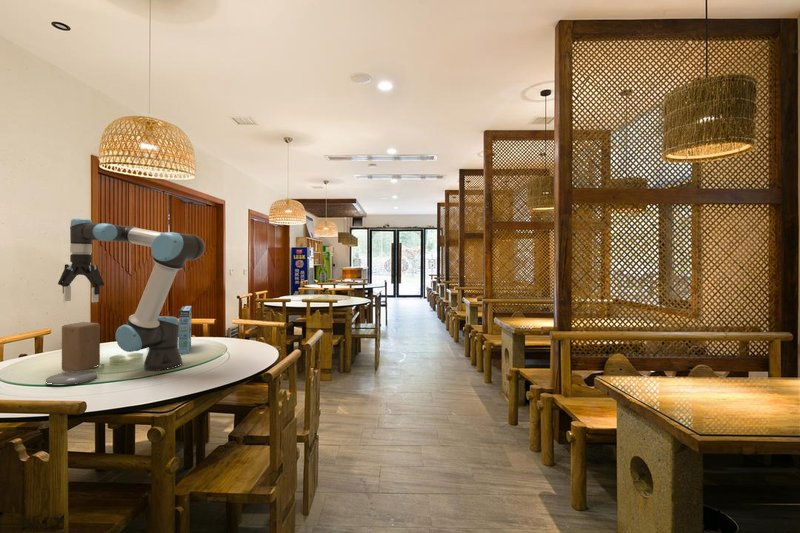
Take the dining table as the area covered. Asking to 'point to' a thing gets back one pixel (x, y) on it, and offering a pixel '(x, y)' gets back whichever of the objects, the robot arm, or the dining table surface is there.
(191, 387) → the dining table surface
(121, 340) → the robot arm
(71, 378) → the charcoal plate
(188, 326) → the gum box
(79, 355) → the wooden block
